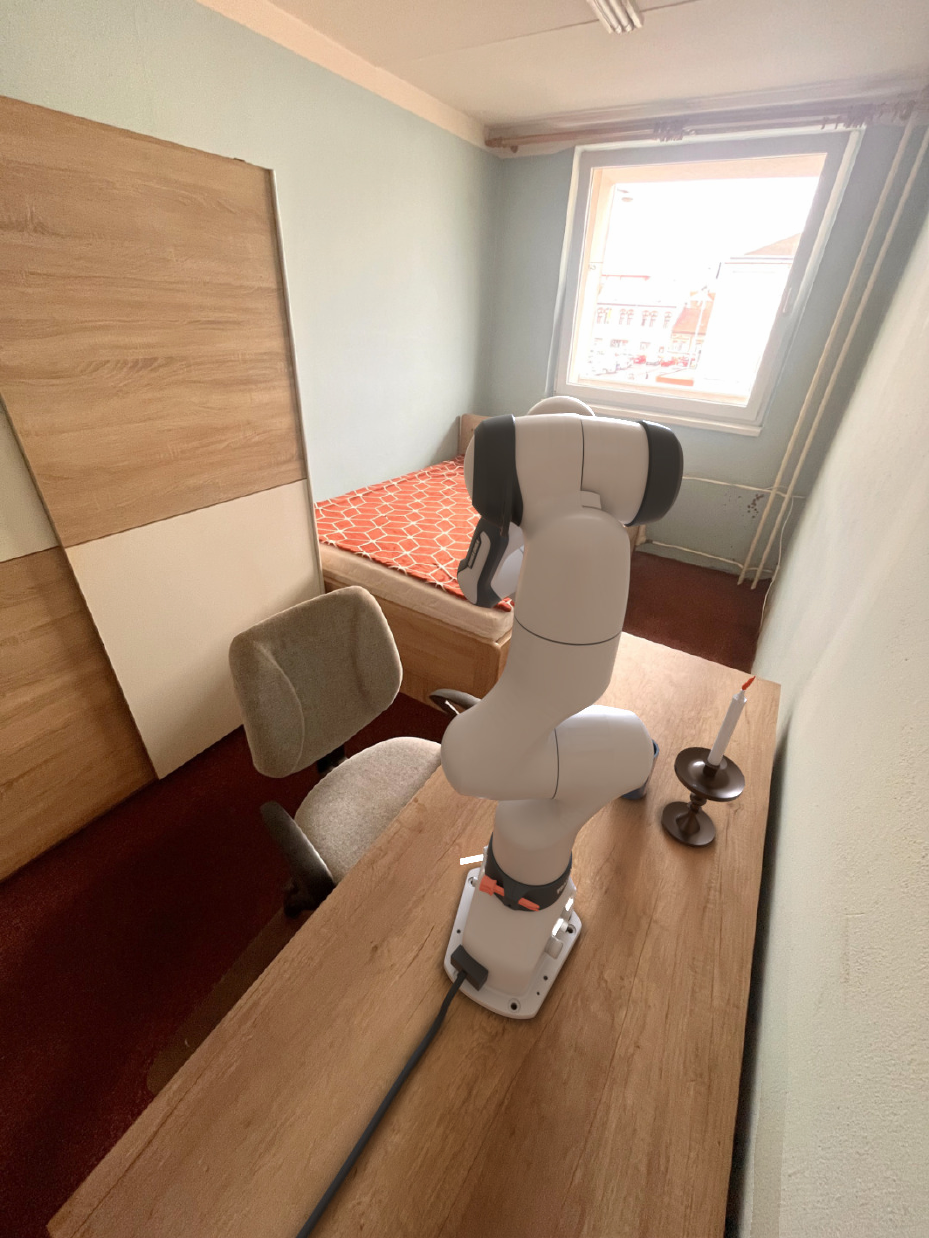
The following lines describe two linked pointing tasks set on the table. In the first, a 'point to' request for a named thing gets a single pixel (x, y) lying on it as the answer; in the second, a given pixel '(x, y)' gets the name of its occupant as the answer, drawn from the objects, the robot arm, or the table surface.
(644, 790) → the cup
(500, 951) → the robot arm
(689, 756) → the candlestick
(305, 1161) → the table surface
